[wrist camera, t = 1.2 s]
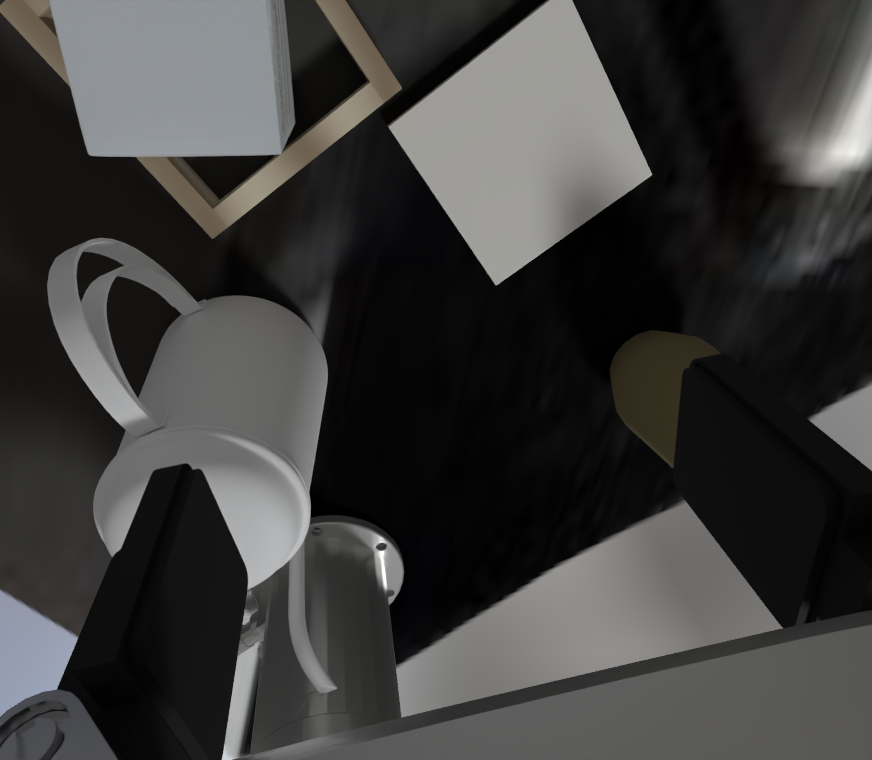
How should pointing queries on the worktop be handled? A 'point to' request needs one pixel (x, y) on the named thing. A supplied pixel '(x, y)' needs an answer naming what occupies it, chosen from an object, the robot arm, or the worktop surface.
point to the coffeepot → (207, 414)
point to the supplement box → (178, 76)
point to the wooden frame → (214, 215)
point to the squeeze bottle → (654, 384)
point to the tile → (524, 140)
